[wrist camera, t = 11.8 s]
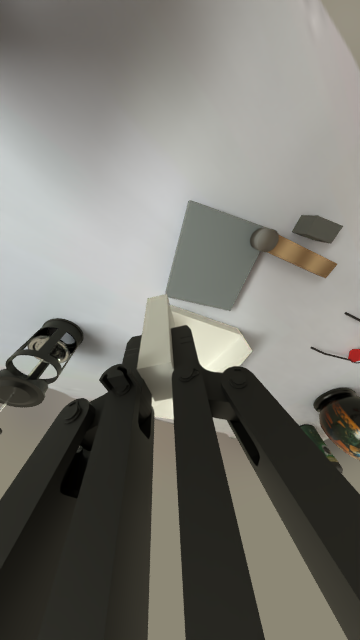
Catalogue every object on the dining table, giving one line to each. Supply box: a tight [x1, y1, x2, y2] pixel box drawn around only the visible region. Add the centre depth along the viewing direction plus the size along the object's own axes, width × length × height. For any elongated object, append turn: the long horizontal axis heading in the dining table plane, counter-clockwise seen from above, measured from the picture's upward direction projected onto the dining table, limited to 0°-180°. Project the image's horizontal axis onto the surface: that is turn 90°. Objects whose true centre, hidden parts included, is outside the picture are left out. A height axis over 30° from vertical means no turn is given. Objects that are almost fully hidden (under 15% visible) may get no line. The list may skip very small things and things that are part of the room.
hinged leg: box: [250, 228, 337, 278], centre depth 32 cm, size 18×4×3 cm, turn 69°
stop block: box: [292, 215, 343, 243], centre depth 32 cm, size 3×6×4 cm, turn 74°
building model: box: [152, 305, 252, 419], centre depth 50 cm, size 45×22×10 cm, turn 156°
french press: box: [0, 318, 83, 434], centre depth 33 cm, size 12×9×23 cm
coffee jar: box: [300, 425, 343, 473], centre depth 78 cm, size 10×8×19 cm
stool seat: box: [166, 200, 268, 311], centre depth 35 cm, size 18×16×2 cm
